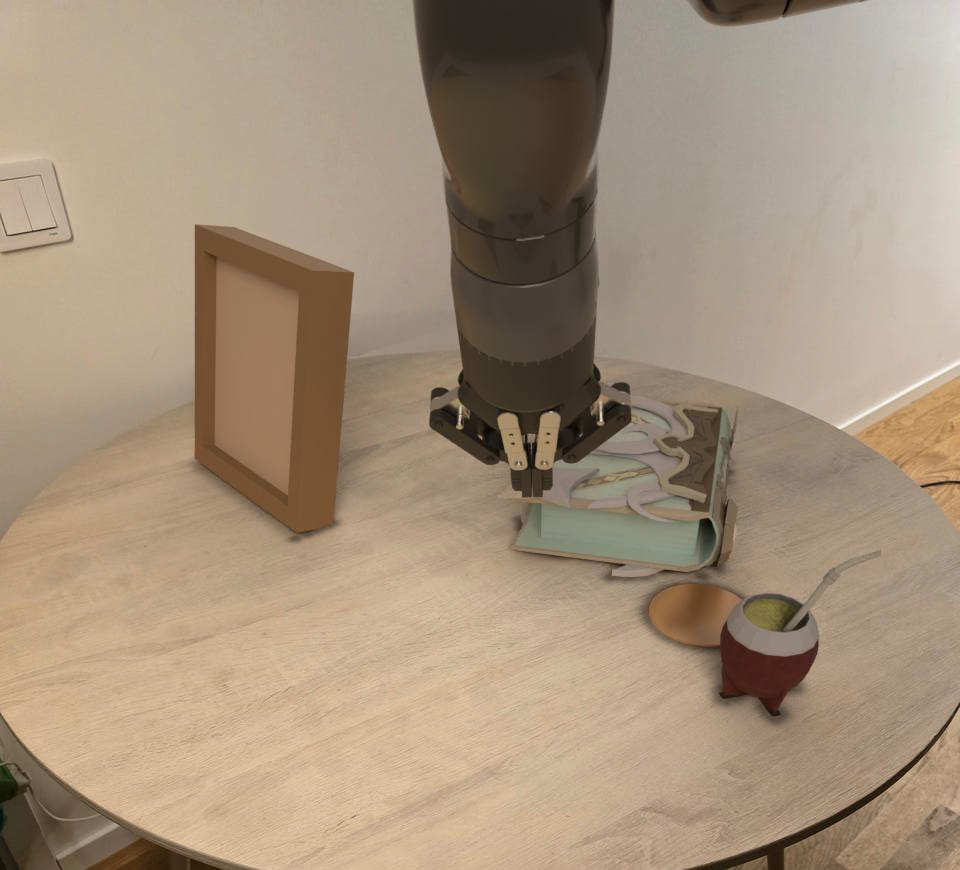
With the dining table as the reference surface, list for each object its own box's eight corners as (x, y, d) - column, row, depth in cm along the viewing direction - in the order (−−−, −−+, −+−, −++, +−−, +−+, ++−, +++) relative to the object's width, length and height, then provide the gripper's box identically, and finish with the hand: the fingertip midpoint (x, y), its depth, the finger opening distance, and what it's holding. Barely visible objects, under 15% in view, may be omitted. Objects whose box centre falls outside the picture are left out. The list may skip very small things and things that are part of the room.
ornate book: (726, 606, 81) (739, 449, 103) (744, 516, 75) (753, 369, 97) (486, 574, 86) (547, 430, 108) (484, 487, 80) (549, 353, 102)
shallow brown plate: (739, 588, 82) (740, 582, 82) (764, 649, 75) (765, 644, 75) (641, 589, 82) (641, 584, 82) (657, 651, 75) (657, 646, 75)
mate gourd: (697, 672, 73) (725, 512, 63) (785, 656, 74) (826, 497, 65) (738, 734, 67) (775, 569, 58) (833, 717, 68) (885, 552, 59)
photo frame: (297, 541, 90) (254, 284, 74) (196, 466, 103) (141, 234, 87) (414, 492, 97) (397, 249, 81) (306, 428, 110) (274, 208, 94)
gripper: (396, 362, 46) (437, 534, 62) (656, 354, 45) (630, 531, 61) (405, 254, 49) (441, 445, 65) (648, 244, 48) (625, 440, 64)
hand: (533, 486), depth 63 cm, fingers closed
